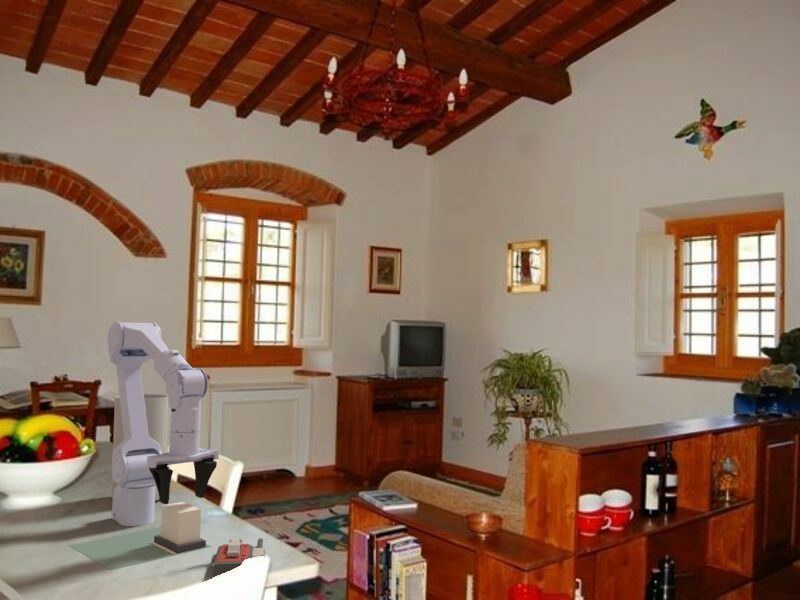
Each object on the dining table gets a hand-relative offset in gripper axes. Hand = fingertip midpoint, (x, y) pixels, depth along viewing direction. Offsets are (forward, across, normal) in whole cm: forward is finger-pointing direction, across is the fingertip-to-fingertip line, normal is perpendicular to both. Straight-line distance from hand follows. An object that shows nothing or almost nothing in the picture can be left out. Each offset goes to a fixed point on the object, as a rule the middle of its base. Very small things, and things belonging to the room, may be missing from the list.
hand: (182, 499), depth 141 cm
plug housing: (+7, -1, -1) cm, 7 cm away
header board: (+9, -7, +3) cm, 12 cm away
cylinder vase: (+10, +11, +40) cm, 43 cm away
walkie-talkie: (+10, +4, -14) cm, 18 cm away
